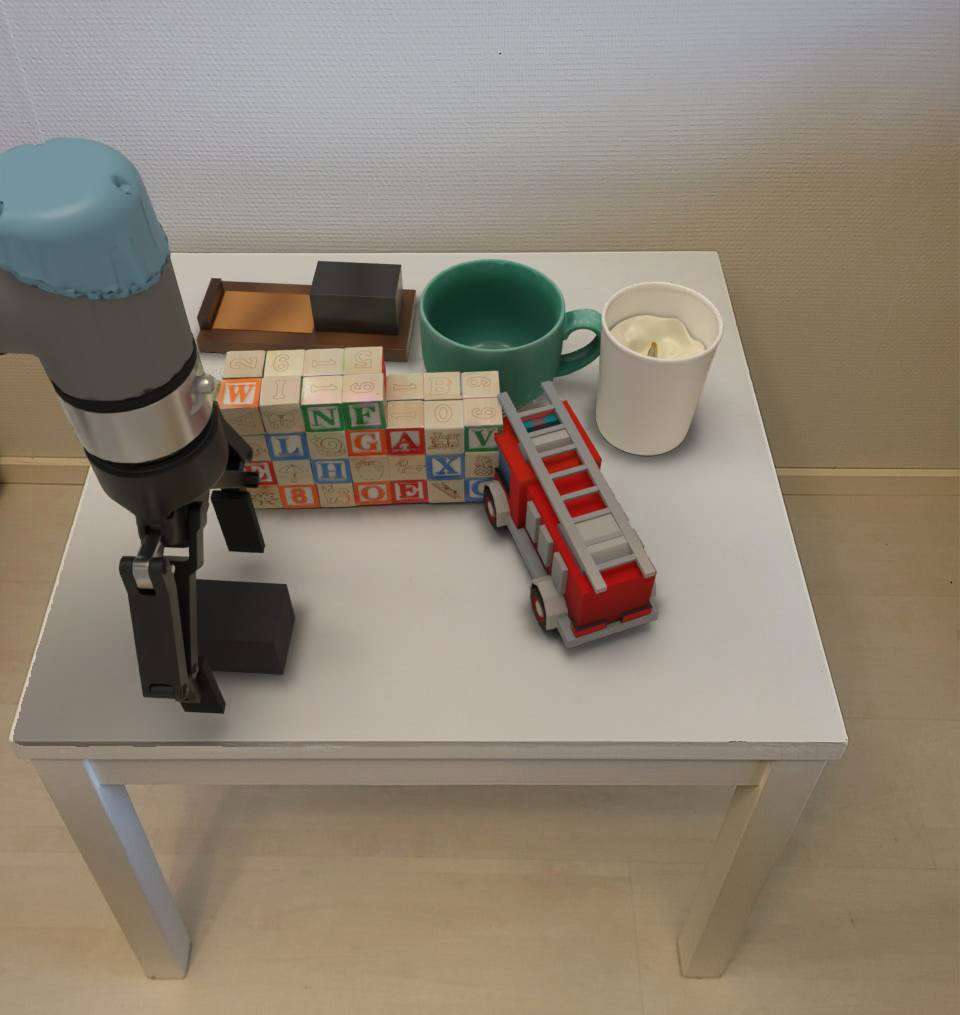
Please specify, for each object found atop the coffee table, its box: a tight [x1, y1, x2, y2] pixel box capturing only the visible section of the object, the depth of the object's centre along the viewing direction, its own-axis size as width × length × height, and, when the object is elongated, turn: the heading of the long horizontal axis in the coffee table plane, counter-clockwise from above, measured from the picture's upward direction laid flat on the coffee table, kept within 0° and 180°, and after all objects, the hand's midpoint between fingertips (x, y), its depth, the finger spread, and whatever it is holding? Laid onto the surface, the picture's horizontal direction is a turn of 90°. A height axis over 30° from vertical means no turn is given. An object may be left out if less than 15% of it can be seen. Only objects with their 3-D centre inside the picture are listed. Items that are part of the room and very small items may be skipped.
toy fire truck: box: [483, 381, 660, 650], centre depth 74 cm, size 9×19×10 cm, turn 20°
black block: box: [196, 578, 296, 675], centre depth 70 cm, size 9×5×4 cm, turn 87°
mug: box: [418, 258, 602, 413], centre depth 86 cm, size 17×13×10 cm
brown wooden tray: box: [196, 260, 417, 363], centre depth 92 cm, size 20×9×6 cm, turn 87°
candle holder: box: [595, 281, 725, 456], centre depth 82 cm, size 10×10×12 cm
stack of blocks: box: [218, 347, 503, 510], centre depth 78 cm, size 21×6×12 cm, turn 92°
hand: (227, 623), depth 70 cm, fingers open, 13 cm apart
